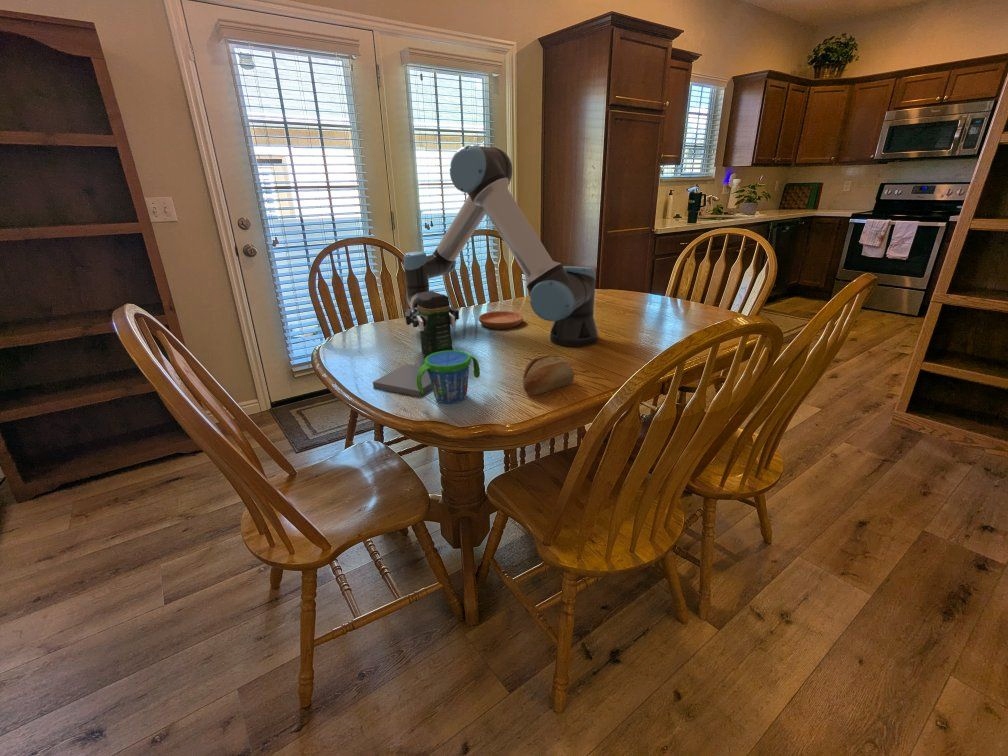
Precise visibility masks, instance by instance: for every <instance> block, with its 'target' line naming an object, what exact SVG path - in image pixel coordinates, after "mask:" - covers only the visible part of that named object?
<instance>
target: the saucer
mask: <svg viewBox="0 0 1008 756" xmlns="http://www.w3.org/2000/svg"><path fill="white" fill-rule="evenodd" d="M478 321H479V322H480V324H482V325H483V326H484V327H486V328H488V329H492V330H493V329H494V330H495V329H496V330H505V329H506V330H507V329H511V328H515V327H517V326H519V325H520V324H521V322H523V321H524V315H523V314H521V313H519V312H515V311H510V310H509V311H508V310H499V311H498V310H496V311H489V312H484V313H482V314H480V315H479V316H478Z"/></svg>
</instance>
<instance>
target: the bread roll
mask: <svg viewBox="0 0 1008 756" xmlns="http://www.w3.org/2000/svg"><path fill="white" fill-rule="evenodd" d="M522 376H523V377H522V384H523V385H522V386H523V390H524V391H525V393H527V394H528V395H531V396H534V395H540V394H543V393H546V392H549V391H553V390H555V389H556V390H557V389H558V388H562V387H565V386H568V385H571V384H572V382H573V381H574V379H575V372H574V369H573V367H572V365H571V364H570V363H569V362H568V361H567V360H566V359H564V358H563V357H560V356H558V355H555V354H554V355H553V354H544V355H540V356H537V357H534V358H533V359H531V361H529V362H528V363H527V365H526V366H525V369H524V372H523V375H522Z"/></svg>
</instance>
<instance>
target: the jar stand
mask: <svg viewBox="0 0 1008 756" xmlns="http://www.w3.org/2000/svg"><path fill="white" fill-rule="evenodd" d="M421 366H422V365H417V364H410V363H405V364H404V365H402V366H400V367H398V368H396V369H394V370H392V371H390V372H389V373H387V374H385V375H383V376H381V377H379V378H377V379H376V380H374V381H372V387H373V388H375V389H379V390H385V391H390V392H395V393H399V394H404V395H410V396H413V397H414V396H415V397H421V396H423V395H424V394H426V393H427V392H429V391H430V390H433V389H432V385H431V380H430V377H429V373H428V371H427V370H426V371H425V372H424V374H423V375H422V378H421V383H422V387H423V391H424V393H421V392H420V391H419V390H418V387H417V375H418V372H419V369H420V367H421Z"/></svg>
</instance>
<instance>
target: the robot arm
mask: <svg viewBox="0 0 1008 756" xmlns="http://www.w3.org/2000/svg"><path fill="white" fill-rule="evenodd" d="M449 175H450V180H451V182H452V184H453V186H454V187H455V189H456V190H458V191H459V192H461V193H465V194H467V195H468V196H467V198H466V200H465V201H464V203H463V204H462V206H461V208H460V209H459V211H458V213H457V215H456V216H455V218H454V219H453V220H452V222H451V224H450V225H449V227H448V229H447V231H446V233H445V234H444V236H443V237H442V239H441V240H440V242H439V244H438V245H437V247H436V248H435V249H434V252H433V253H432V254H429V255H427V254H426V252H424V251H412V252H411V251H409V252H406V253H404V255H403V269H404V277H405V286H406V287H405V288H406V294H405V295H406V296H405V299H406V300H405V301H406V304H407V305H408V307H410V308H405V309H404V314H405V323H406V325H407V326H410V325H411V324H412V328H417V327H418V328H419V330H420V332H421V331H424V327H423V320H422V319H421V318H420V316H419V311H418V306H417V297H418V295H419V294H420V293H421V292H428V291H430V282H429V280H430V279H432V278H436V277H440V276H446V275H448V274H450V273H452V272H453V271H454V270H455V269H456V265H457V264H456V263H457V260H456V259H457V257H458V256H459V255H460V253H461V252H462V251H463V250H464V247H466V245H467V243H468V242H469V240H470V238H471V237H472V235H473V234H474V232H475V231H476V230H477V228H478V226H479V225H480V224H481V222H482V220H483V219H484V218H485V216H486V215H487V216H488V219H489V220H490V222H491V223H492V224H493V226H494V228H495V229H496V231H497V233H498V234H499V236H500V237H501V239H502V240H503V243H505V245H506V246H507V249H508V250H509V252H510V253H511V255H512V257H514V260H515V261H516V262H517V264H518V266H519V267H520V269H521V271H522V272H523V274H524V275H525V277H526V279H527V280H526V285H525V287H526V288H527V290H528V291H529V293H530V295H529V304H530V307H531V310H532V311H533V312H534V314H535V315H536V316H537V317H539V318H540V319H541V320H544V321H547V322H553V324H552V326H551V328H550V329H551V330H550V332H549V340H550V341H551V343H553V344H556V345H559V346H563V347H573V348H574V347H575V348H576V347H580V348H581V347H587V346H591V345H594V344H596V343H597V342H598V341H599V332H598V329H597V325H596V321H595V318H594V314H595V313H594V312H595V311H594V310H595V309H594V308H595V296H596V295H595V294H596V281H597V278H596V270H595V269H594V268H593V267H588V266H587V267H586V266H574V265H573V266H571V265H563V264H562V263H561V262H558V261H555V260H553V259H552V257H551V255H550V254H549V253H548V250H547V249H546V248H545V246H544V244H543V243H542V241H541V240H540V238H539V236H538V235H537V233H536V231H535V230H534V229H533V226H532V225H531V223H530V222H529V221H528V219H527V217H526V216H525V215H524V212H523V210H521V207H520V206H519V205H518V203H517V201H516V200H515V198H514V196H513V195H512V194H511V192H510V190H509V185H510V184H511V181H512V176H513V164H512V161H511V159H510V157H509V155H508V154H507V153H506V152H505V151H503V150H502V149H500V148H498V147H495V146H494V147H488V146H479V145H475V144H472V145H464V146H462V147H460V148H458V149H457V150H456V151H455V153H454V154H453V156H452V157H451V161H450V168H449ZM459 313H460V312H459V310H457V309H455V308H454V307H451V306H450V310H449V318H450V327H452V328H456V322H457V320H460V314H459Z"/></svg>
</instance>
